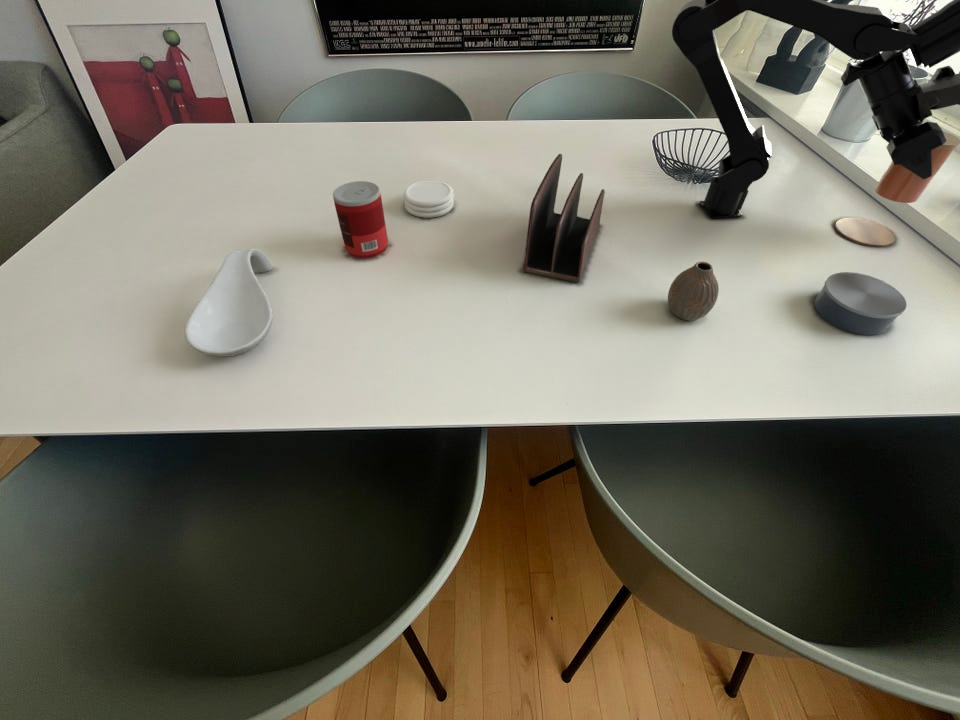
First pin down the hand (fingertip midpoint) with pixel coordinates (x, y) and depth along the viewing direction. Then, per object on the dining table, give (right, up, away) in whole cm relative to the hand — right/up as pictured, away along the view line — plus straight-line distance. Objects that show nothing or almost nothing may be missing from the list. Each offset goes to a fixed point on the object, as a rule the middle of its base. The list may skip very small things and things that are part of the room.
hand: (922, 168), depth 81 cm
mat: (-1, -8, +11) cm, 14 cm away
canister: (-1, -3, +4) cm, 5 cm away
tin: (-17, -25, -5) cm, 31 cm away
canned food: (-96, -12, +7) cm, 97 cm away
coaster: (-86, -1, +18) cm, 88 cm away
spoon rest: (-112, -25, -6) cm, 115 cm away
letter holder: (-60, -12, +7) cm, 61 cm away
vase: (-43, -25, -5) cm, 50 cm away
